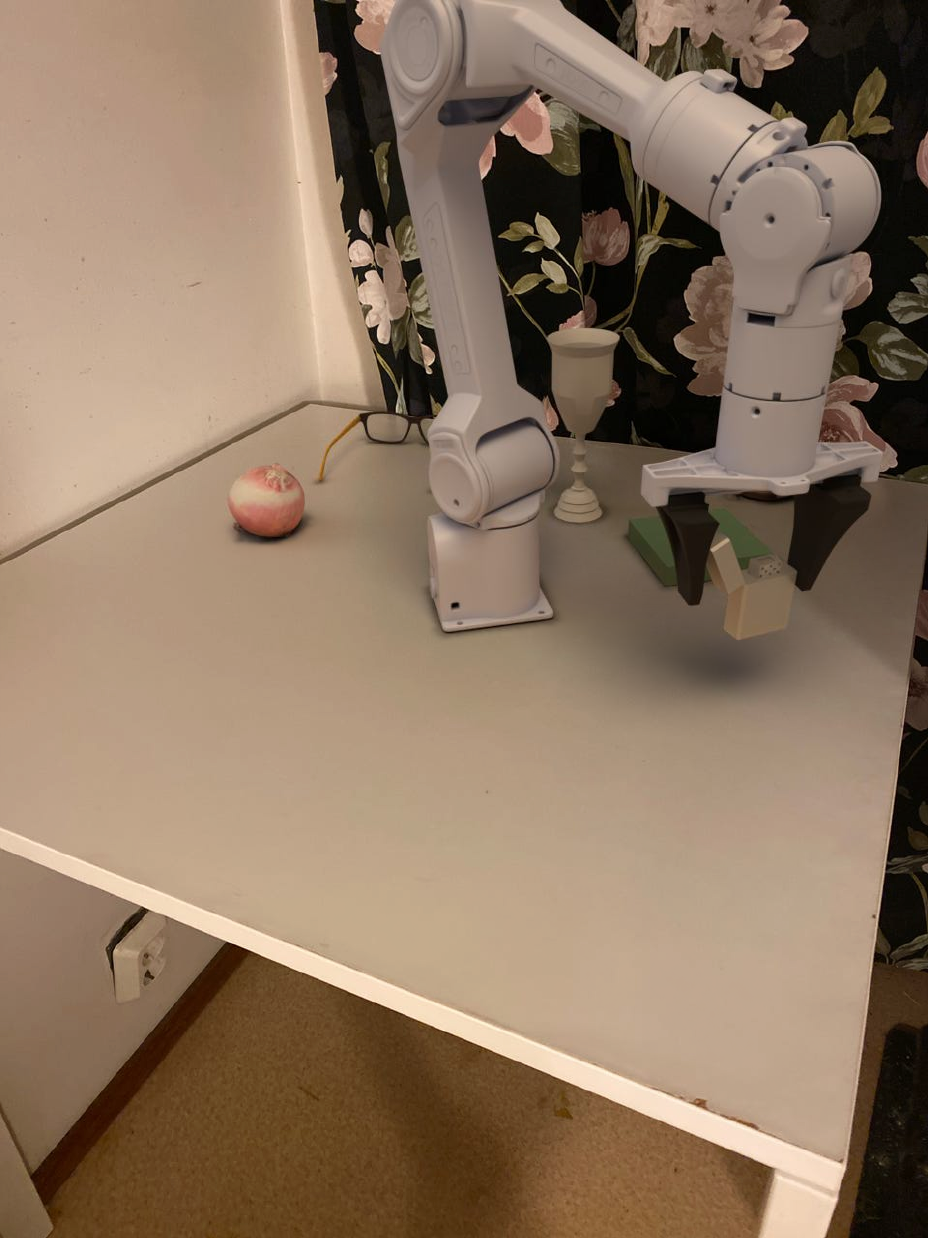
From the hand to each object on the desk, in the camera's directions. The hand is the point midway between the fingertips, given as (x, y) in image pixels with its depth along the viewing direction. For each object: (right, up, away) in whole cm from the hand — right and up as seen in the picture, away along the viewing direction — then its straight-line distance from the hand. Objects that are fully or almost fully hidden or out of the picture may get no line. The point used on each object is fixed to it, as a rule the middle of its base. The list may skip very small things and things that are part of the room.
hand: (743, 590), depth 57 cm
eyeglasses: (-26, +17, +48) cm, 57 cm away
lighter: (0, -3, +2) cm, 3 cm away
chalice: (-6, +9, +34) cm, 36 cm away
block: (+4, +4, +25) cm, 26 cm away
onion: (-39, +7, +33) cm, 52 cm away
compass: (+13, +11, +36) cm, 40 cm away
